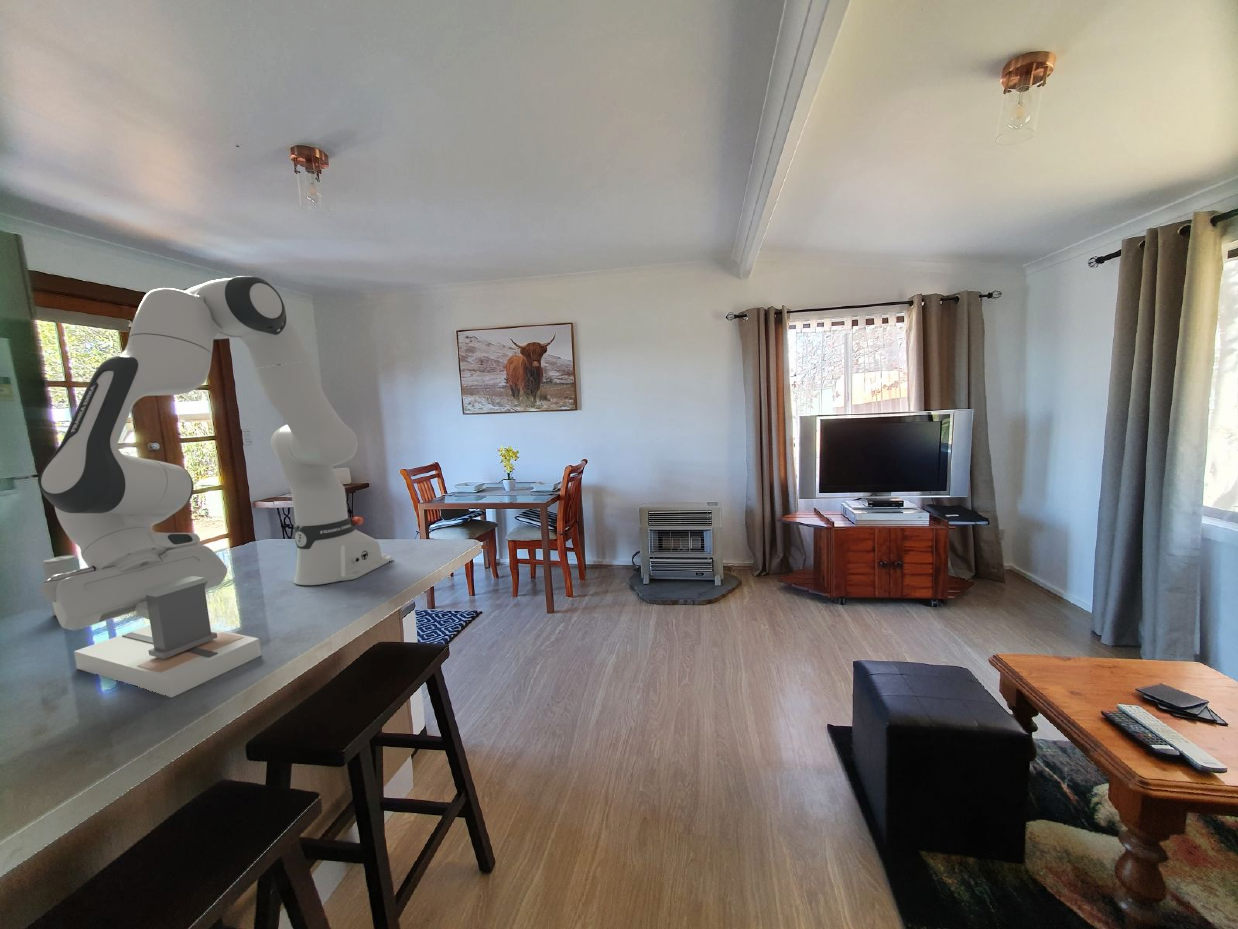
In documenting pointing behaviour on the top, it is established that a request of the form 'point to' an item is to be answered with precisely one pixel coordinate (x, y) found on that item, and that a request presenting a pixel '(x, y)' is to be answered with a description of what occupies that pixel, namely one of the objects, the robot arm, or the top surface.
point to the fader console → (166, 660)
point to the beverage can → (60, 567)
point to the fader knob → (178, 616)
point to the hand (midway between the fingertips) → (172, 621)
